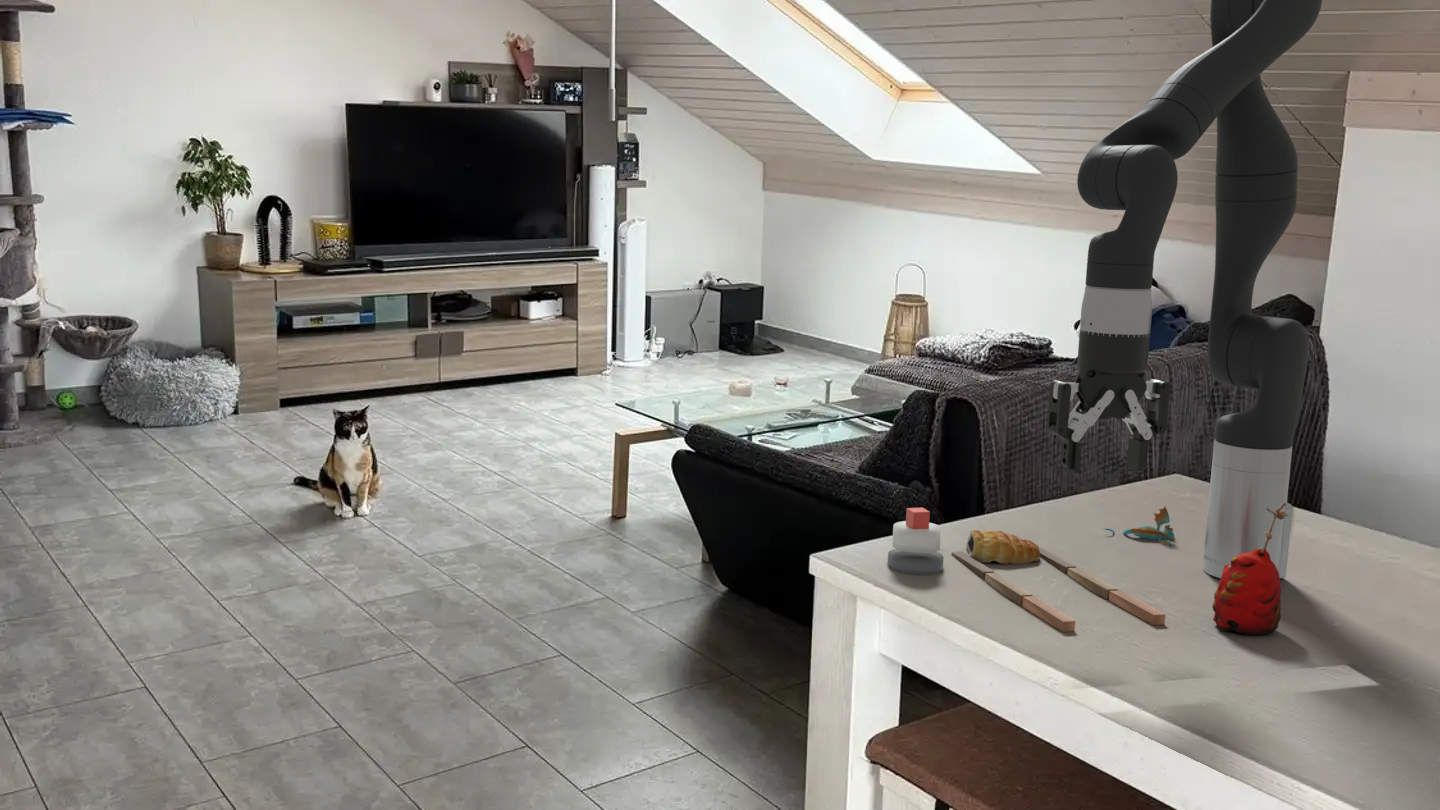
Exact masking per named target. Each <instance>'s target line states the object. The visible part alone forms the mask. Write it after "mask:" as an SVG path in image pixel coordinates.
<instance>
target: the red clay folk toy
mask: <svg viewBox="0 0 1440 810" xmlns="http://www.w3.org/2000/svg"><path fill="white" fill-rule="evenodd" d="M1285 505H1286V504H1285V503H1283V504H1282V505H1281V506H1280V507H1279V509H1276V510H1275V511H1274V512H1273V511H1272V510H1270V509H1269V508H1267V510H1268V511H1270V512H1272V513H1273V514H1274V519H1273V522H1272V525H1271V528H1270V530H1269V531H1266V532H1265V534H1266V536H1267V540H1266V542H1265V544H1264V547H1263V549H1254V550H1253V551H1252V552H1250V553H1243V554H1240V555H1238V556H1236V557H1233V558H1232V559H1231V564H1227V565H1225V566H1224V568H1223V573H1222V576H1221V578H1220V580H1219V582H1218V586H1217V588H1216V590H1215V592H1214V596H1213V599H1214V600H1213V604H1212V610H1213V611H1214V615H1213V622H1215V624H1216V627H1217V629H1219V630H1221V631H1224V632H1230V631H1233V630H1234V632H1236V633H1239V634H1242V635H1246V636H1257V635H1264V634H1265V635H1266V634H1269V633H1273V632H1275V631H1276V630H1278V628H1279V623H1280V621H1281V619H1282V618H1281V617H1282V614H1281V612H1282V611H1281V610H1282V608H1281V607H1282V606H1281V605H1282V604H1281V593H1282V586H1281V578H1280V576H1279V573H1278V570H1277V568H1276V566H1275V564H1274V563H1273V562H1272V561H1271V559H1270V555H1269V553H1268V552H1267V551H1266V548H1267V544H1268V540H1270V539H1271V538H1272V535H1271V531H1272V528H1273V525H1274V522H1275V519H1276V518H1278V519H1284V517H1285V516H1288V515H1287V514H1285V513H1284V512H1283V511H1281V512H1280V510H1281V509H1282V508H1283V507H1284V506H1285Z"/></svg>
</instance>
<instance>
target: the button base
mask: <svg viewBox="0 0 1440 810" xmlns="http://www.w3.org/2000/svg"><path fill="white" fill-rule="evenodd" d="M887 565H888V567H889V568H890V569H892V570H893V571H896V572H899V573H902V574H907V575H913V576H914V575H915V576H931V575H930V574H932V575H935V574H939V573H941V572H942V571H943V570H942V569H944V555H943V554H942V553H940V552H938V551H936V552H932V553H910V552H904V551H900V550H898V549H895V548H893V549H891V550H889V551H888V553H887ZM940 571H941V572H940ZM938 572H939V573H938ZM934 573H935V574H934Z"/></svg>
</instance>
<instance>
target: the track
mask: <svg viewBox="0 0 1440 810" xmlns="http://www.w3.org/2000/svg"><path fill="white" fill-rule="evenodd" d="M1038 547H1039V546H1038ZM1039 551H1040V558H1042V559H1043V560H1044V561H1046V562H1048V563H1049V564H1051V565H1052V566H1053V567H1055V568H1057V569H1058V570H1059V571H1061V572H1062V573H1064V574H1066V575H1067V576H1068V577H1070V578H1071V579H1073V580H1074V581H1076V582H1077V583H1078V584H1081V586H1083V587H1084V588H1086V589H1088V590H1089V591H1091V592H1092V593H1095V594H1096V595H1098V596H1100V597H1101V598H1104V600H1108V601H1109V603H1110V602H1111V603H1113V604H1114V605H1116V606H1118V607H1120V608H1121V609H1123V610H1125V611H1126V612H1129V613H1130V614H1132V615H1134V616H1136V617H1138V618H1139V619H1141V620H1143V621H1145V622H1147V623H1149V624H1150V625H1152V626H1160V625H1161V626H1163V625H1165V623H1166V615H1167V614H1166V613H1164V612H1162V611H1160V610H1158V609H1157V608H1154V607H1153V606H1150V605H1149V604H1147V603H1145V602H1144V601H1141V600H1140V599H1138V598H1136V597H1134V596H1132V595H1131V594H1129V593H1127V592H1125V591H1123V590H1121V589H1120V590H1119V588H1117V587H1115V586H1114V585H1112V584H1110V583H1108V582H1106V581H1104V580H1102V579H1100V578H1098V577H1097V576H1095V575H1094V574H1091V573H1089V572H1087V571H1086V570H1083V568H1080V567H1077V566H1076V565H1074V564H1072V563H1071V562H1069V561H1067V560H1065V559H1063V558H1061V557H1059V556H1057V555H1056V554H1054V553H1052V552H1050V551H1048V550H1046V549H1045V548H1042V547H1039ZM951 556H952V557H954V558H955V559H956V560H957V561H959V562H960V563H962V565H964V566H966V567H967V568H968V567H969V568H970V570H971V571H972V570H973V571H974V572H973V571H972V572H973V573H975V574H976V575H977V574H978V575H977V576H978V577H980V578H981V579H982V578H983V579H982V580H984V581H985V582H986V583H987V584H989V585H991V587H993V588H994V589H996V590H997V591H998V592H999V593H1000V594H1003V595H1004V596H1005V597H1006V598H1008V599H1010V600H1012V601H1014V602H1015V603H1016V604H1018V605H1019V606H1022V607H1023V608H1024V609H1025V610H1027V611H1029V612H1030V613H1032V614H1033V615H1035V616H1036V617H1038V618H1039V619H1041V620H1043V621H1044V622H1045V623H1048V624H1049V625H1051V627H1054V628H1055V629H1057V630H1059V631H1060V632H1062V633H1069V632H1070V633H1071V632H1075V631H1076V620H1075V619H1074V618H1071V617H1070V616H1068V615H1067V614H1065V613H1063V612H1062V611H1060V610H1059V609H1057V608H1055V607H1053V606H1052V605H1050V604H1049V603H1047V602H1046V601H1043V600H1042V599H1040V598H1039V597H1037V596H1035V595H1033V593H1030V592H1029V591H1027V590H1026V589H1024V588H1022V587H1021V586H1019V585H1017V584H1016V583H1014V582H1013V581H1011V580H1010V579H1008V578H1007V577H1004V576H1003V575H1001V574H999V573H998V572H995V571H994V570H993V569H991V568H990V567H988V566H986V565H985V564H984V563H983V562H979V561H977V560H975V559H973V558H972V557H970V555H969V554H967V553H965V552H963V551H952V552H951ZM969 568H968V569H969Z"/></svg>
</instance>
